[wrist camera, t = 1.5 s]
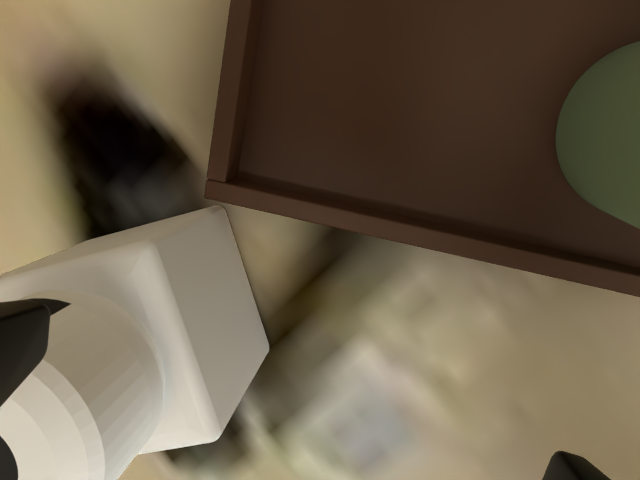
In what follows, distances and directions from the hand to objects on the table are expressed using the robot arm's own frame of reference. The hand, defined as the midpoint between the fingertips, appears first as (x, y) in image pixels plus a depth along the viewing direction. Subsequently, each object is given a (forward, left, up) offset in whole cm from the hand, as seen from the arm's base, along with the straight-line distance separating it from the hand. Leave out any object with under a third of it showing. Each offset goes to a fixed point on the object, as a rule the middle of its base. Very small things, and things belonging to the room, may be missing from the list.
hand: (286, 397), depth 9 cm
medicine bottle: (-5, +7, -14) cm, 16 cm away
